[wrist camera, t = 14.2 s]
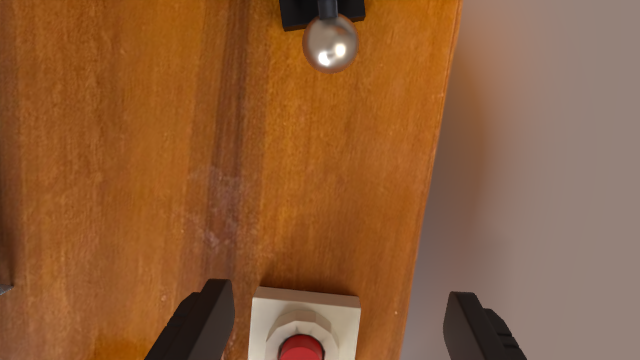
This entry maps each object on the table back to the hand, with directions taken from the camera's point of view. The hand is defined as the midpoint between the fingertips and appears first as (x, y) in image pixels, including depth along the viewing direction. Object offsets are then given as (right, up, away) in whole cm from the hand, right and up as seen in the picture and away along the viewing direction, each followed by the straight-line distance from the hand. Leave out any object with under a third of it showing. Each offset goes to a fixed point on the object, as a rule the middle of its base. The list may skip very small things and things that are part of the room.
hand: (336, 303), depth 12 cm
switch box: (-2, -10, +20) cm, 23 cm away
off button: (-2, -11, +17) cm, 20 cm away
